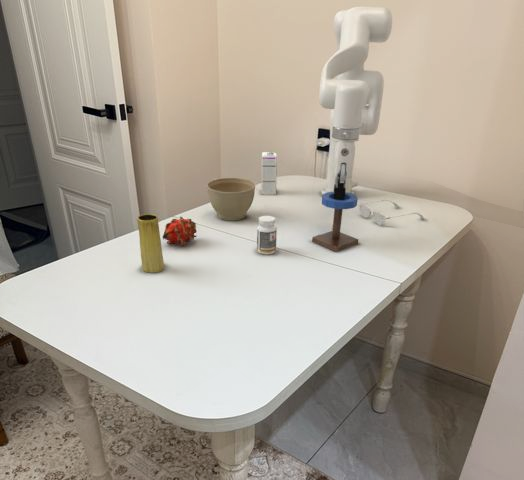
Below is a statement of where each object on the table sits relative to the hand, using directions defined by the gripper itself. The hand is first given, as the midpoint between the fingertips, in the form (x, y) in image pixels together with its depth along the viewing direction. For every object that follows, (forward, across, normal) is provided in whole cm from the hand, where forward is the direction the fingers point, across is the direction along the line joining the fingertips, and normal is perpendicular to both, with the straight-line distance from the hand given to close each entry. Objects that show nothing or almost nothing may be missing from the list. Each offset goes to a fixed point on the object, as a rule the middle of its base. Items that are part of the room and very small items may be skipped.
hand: (338, 198), depth 148 cm
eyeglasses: (+12, +22, -20) cm, 33 cm away
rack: (+12, -4, 0) cm, 13 cm away
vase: (+13, -29, +50) cm, 59 cm away
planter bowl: (+12, +15, +35) cm, 40 cm away
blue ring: (0, -4, 0) cm, 4 cm away
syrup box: (+12, +44, +24) cm, 52 cm away
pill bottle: (+13, -13, +20) cm, 27 cm away
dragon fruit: (+13, -11, +47) cm, 50 cm away
